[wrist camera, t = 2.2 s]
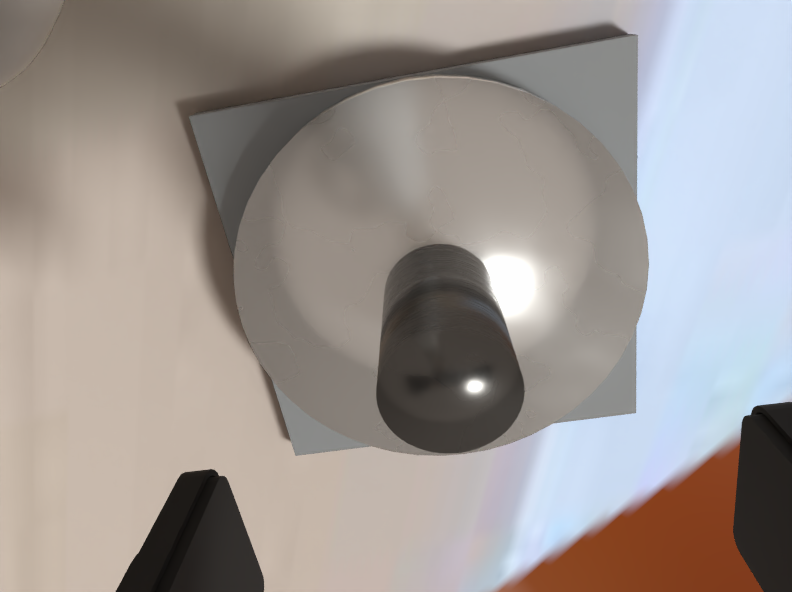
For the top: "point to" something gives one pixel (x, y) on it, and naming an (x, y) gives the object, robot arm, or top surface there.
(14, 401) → the top surface
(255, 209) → the lid
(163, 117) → the top surface
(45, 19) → the mug
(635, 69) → the mat
